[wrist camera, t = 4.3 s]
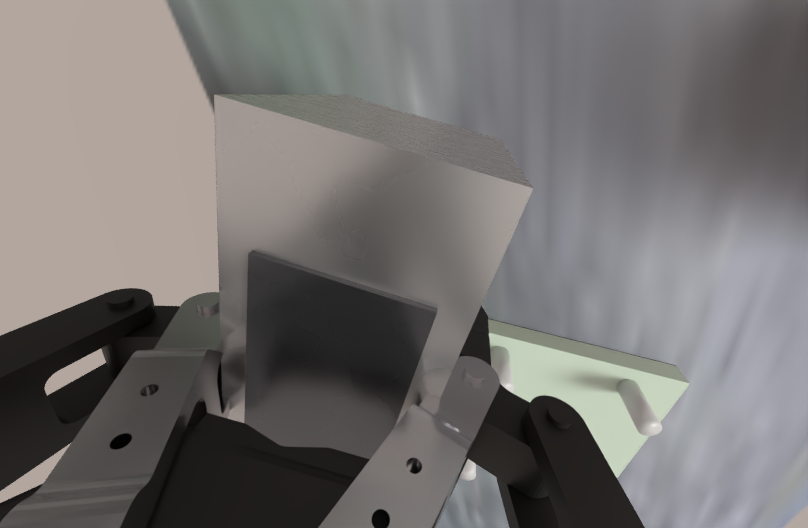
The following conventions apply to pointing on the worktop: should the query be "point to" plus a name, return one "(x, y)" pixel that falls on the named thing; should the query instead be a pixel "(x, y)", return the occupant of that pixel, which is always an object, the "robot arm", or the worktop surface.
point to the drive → (350, 260)
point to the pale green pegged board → (587, 386)
